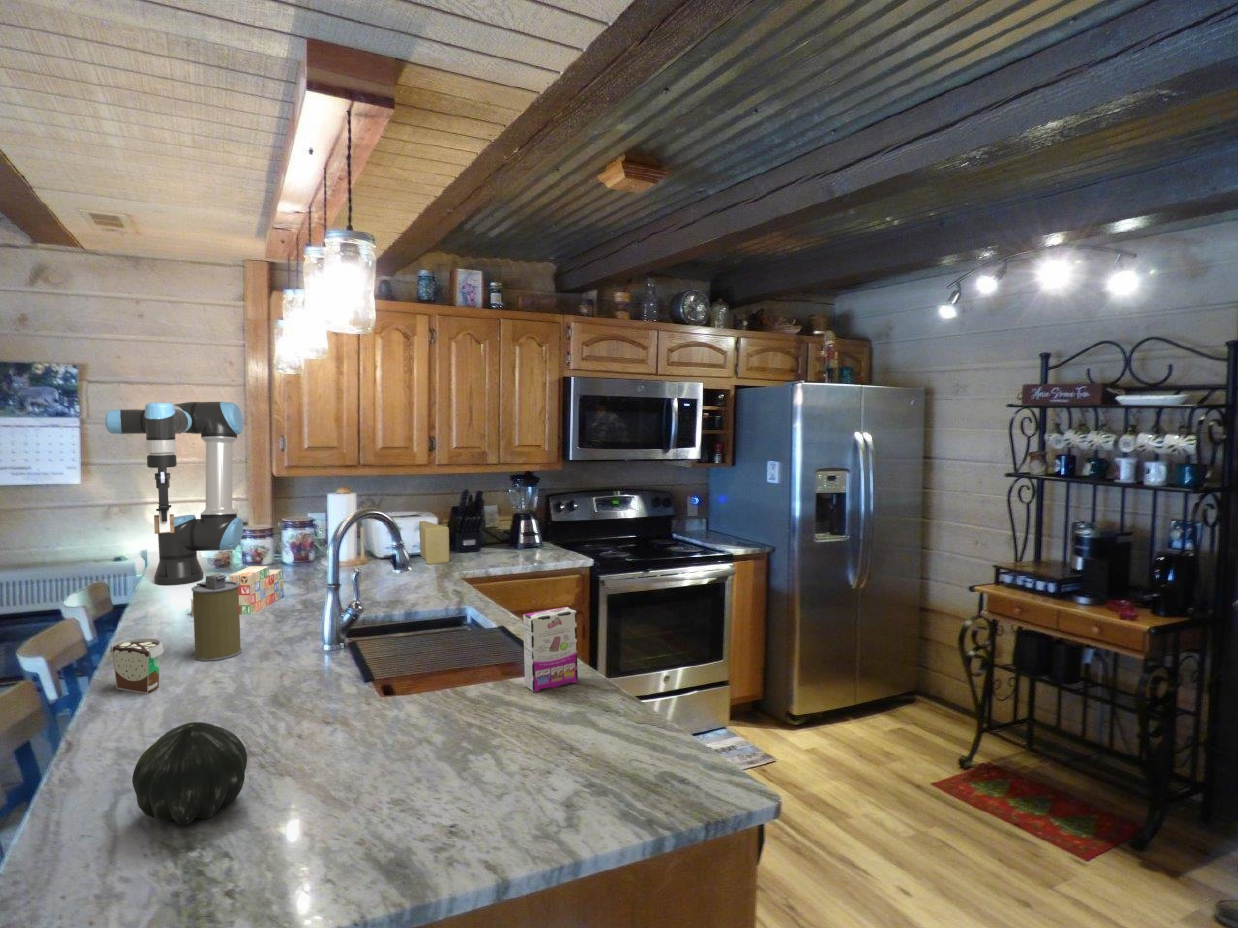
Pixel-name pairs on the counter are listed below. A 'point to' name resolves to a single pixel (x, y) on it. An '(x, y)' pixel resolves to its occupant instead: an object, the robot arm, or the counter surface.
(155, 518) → the walnut cube
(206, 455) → the robot arm
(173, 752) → the squash
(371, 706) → the counter surface
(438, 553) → the cheese
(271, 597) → the stack of blocks
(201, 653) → the canister
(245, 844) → the counter surface
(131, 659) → the food container
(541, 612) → the candy bar box
